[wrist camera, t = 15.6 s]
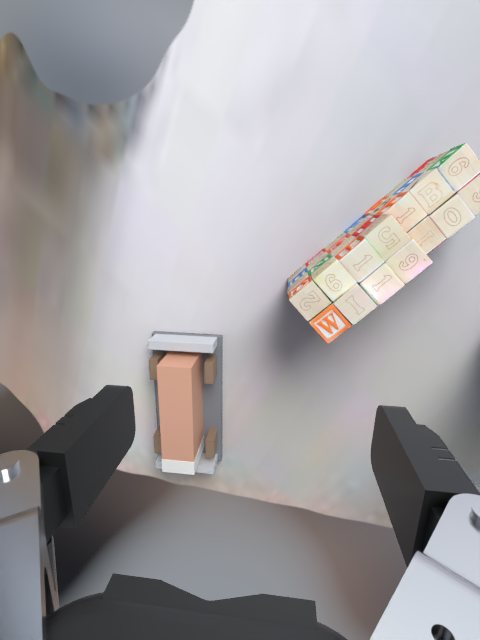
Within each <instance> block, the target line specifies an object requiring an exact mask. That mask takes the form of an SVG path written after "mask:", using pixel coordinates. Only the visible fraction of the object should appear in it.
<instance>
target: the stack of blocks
mask: <svg viewBox="0 0 480 640" xmlns="http://www.w3.org/2000/svg"><path fill="white" fill-rule="evenodd" d="M479 213H480V160H479V159H478V158H477V156H476V155H475V154H474V152H473V151H472V150H471V148H470V147H469V146H468V144H467V143H464V144H462V145H459V146H457V147H454V148H452V149H450V150H449V151H447V152H445V153H442V154H440V155H438V156H436V157H433V158H431V159H429V160H427V161H426V162H425V163H424V164H423V165H422V166H420V167H419V168H418V169H417V170H416V171H415V172H414V173H412V174H411V175H410V176H409V177H408V178H407V179H404V180H403V181H402V182H401V183H400V184H398V185H397V186H396V187H395V188H394V189H393V190H391V191H390V192H389V193H388V194H387V195H386V196H385V197H383V198H382V199H381V200H380V201H378V202H377V203H376V204H375V205H374V206H373V207H371V208H370V209H369V210H368V211H367V212H366V213H364V215H363V216H362V217H361V218H359V219H358V220H357V221H356V222H355V223H354V224H352V225H351V226H350V227H349V228H348V229H346V230H345V231H344V232H343V233H342V234H341V235H340V236H338V237H337V238H336V239H335V240H334V241H333V242H331V243H330V244H329V245H328V246H327V247H326V248H324V249H322V250H321V251H320V252H319V253H318V254H316V255H315V256H314V257H313V258H312V259H311V260H309V261H308V262H307V263H306V264H305V265H303V266H302V267H301V268H300V269H298V270H297V271H296V272H295V273H294V274H292V275H291V276H290V277H289V278H288V290H287V293H288V295H289V301H290V302H291V303H292V304H293V306H294V307H295V308H296V309H297V310H298V311H299V312H300V314H301V315H302V316H303V317H304V318H305V319H306V320H307V321H309V323H310V325H311V326H312V327H313V328H314V329H315V330H316V331H317V333H318V334H319V335H320V336H321V337H322V338H323V339H324V340H325V341H326V342H327V343H328V344H329V343H330V342H332V341H333V340H334V339H335V338H337V337H338V336H339V335H341V334H342V333H343V332H344V331H346V330H347V329H348V328H350V327H351V326H352V325H355V324H356V323H357V322H359V321H360V320H361V319H363V318H364V317H365V316H366V315H368V314H369V313H370V312H371V311H373V310H374V309H375V308H376V307H377V305H381V304H382V303H384V302H385V301H386V300H387V299H389V298H390V297H391V296H392V295H394V294H395V293H396V292H397V291H399V290H400V289H401V288H402V287H403V286H404V285H405V284H406V283H408V282H409V281H411V280H412V279H413V278H414V277H416V276H417V275H418V274H419V273H421V272H422V271H423V270H424V269H426V268H427V267H428V266H429V265H431V264H432V263H433V262H432V261H431V259H430V258H429V257H428V256H427V254H428V253H429V252H431V251H432V250H433V249H434V248H436V247H437V246H438V245H440V244H441V243H442V242H444V241H445V240H446V239H449V238H450V237H451V236H453V235H454V234H455V233H457V232H458V231H459V230H461V229H462V228H463V227H464V226H466V225H467V224H468V223H469V222H471V221H472V220H473V219H475V217H476V215H478V214H479Z"/></svg>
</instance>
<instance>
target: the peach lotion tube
mask: <svg viewBox="0 0 480 640" xmlns="http://www.w3.org/2000/svg"><path fill="white" fill-rule="evenodd" d="M157 382H158V399H159V416H160V433H161V450H162V472H170V473H180V474H190V475H195V472H196V469H197V466H198V463H199V460H200V457H201V454H202V452H203V449H204V435H203V380H202V353H201V352H185V351H169V352H168V353H167V354H166V355H165V357H164V358H163V359H162V360H161V361H160V363H159V364H158V365H157Z"/></svg>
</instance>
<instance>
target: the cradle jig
mask: <svg viewBox="0 0 480 640" xmlns="http://www.w3.org/2000/svg"><path fill="white" fill-rule="evenodd" d="M148 349H152V350H153V356H152V357H151V358H150V359H149V370H150V380H155V395H156V412H157V428H158V429H157V431H156V433H155V434H154V448H155V453H159V456H158V458H157V460H156V461H155V463H156V468H158V469H162V450H161V433H160V416H159V399H158V382H157V365H158V364H159V363H160V361H161V360H162V359H163V358H164V357H165V355H166V354H167V353H168V352H169V351H185V352H201V353H202V380H203V435H204V449H203V452H202V454H201V457H200V460H199V463H198V466H197V469H196V472H198V473H208V474H214V472H215V469H216V465H217V461H221V459H222V335H212V334H194V333H176V332H157V331H154V332H153V333H152V337H151V338H150V339H149V340H148Z"/></svg>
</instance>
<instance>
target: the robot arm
mask: <svg viewBox="0 0 480 640" xmlns="http://www.w3.org/2000/svg"><path fill="white" fill-rule="evenodd" d="M134 437H135V415H134V403H133V392H132V389H131V387H129V386H117V385H106V386H105V387H104V388H103V389H102V390H101V391H100V392H99V393H98V394H96V395H95V396H94V397H93V398H89V399H87V400H85V401H83V402H81V403H79V404H77V405H75V406H74V407H73V408H72V409H71V410H70V411H69V412H67V413H66V414H65V416H64V417H62V418H61V419H60V420H59V421H58V422H56V425H53V426H52V427H51V428H50V429H49V430H48V431H46V432H45V433H44V434H43V435H42V436H41V437H40V438H39V439H38V440H37V441H35V442H34V443H33V444H32V445H31V446H30V447H29V448H28V449H27V450H17V451H11V452H7V453H4V454H1V455H0V640H347V639H346V638H345V637H343V636H342V635H340V634H339V633H338V632H336V631H334V630H332V629H331V628H329V627H327V626H325V625H323V624H321V623H319V622H317V619H316V606H315V601H311V600H304V599H297V598H289V597H282V596H275V595H266V594H259V595H252V596H245V597H237V598H230V599H223V600H215V601H207V600H204V599H201V598H199V597H197V596H195V595H192V594H190V593H188V592H186V591H183V590H181V589H179V588H177V587H175V586H172V585H170V584H168V583H166V582H163V581H162V580H157V579H149V578H142V577H135V576H127V575H120V574H113V575H112V577H111V579H110V581H109V583H108V585H107V588H106V589H105V591H104V592H103V593H97V594H94V595H90V596H86V597H84V598H81V599H78V600H76V601H73V602H71V603H69V604H67V605H65V606H63V607H61V608H59V602H58V590H57V577H56V565H55V552H54V542H53V537H52V535H53V534H54V533H55V531H56V530H57V529H58V527H64V528H72V529H76V528H77V527H78V525H79V524H80V522H81V521H82V519H83V518H84V516H85V515H86V513H87V512H88V510H89V509H90V507H91V506H92V504H93V503H94V501H95V500H96V498H97V497H98V495H99V494H100V492H101V491H102V489H103V488H104V486H105V485H106V483H107V482H108V480H109V479H110V477H111V476H112V474H113V473H114V471H115V470H116V468H117V467H118V465H119V464H120V462H121V461H122V459H123V458H124V456H125V455H126V453H127V452H128V450H129V449H130V447H131V445H132V443H133V440H134ZM371 464H372V469H373V472H374V475H375V477H376V480H377V483H378V486H379V489H380V492H381V494H382V497H383V500H384V503H385V506H386V509H387V511H388V514H389V517H390V520H391V523H392V526H393V528H394V531H395V534H396V537H397V540H398V543H399V545H400V548H401V551H402V554H403V557H404V559H405V562H406V565H407V570H406V572H405V574H404V576H403V578H402V579H401V581H400V583H399V585H398V587H397V589H396V591H395V593H394V595H393V596H392V598H391V600H390V602H389V604H388V606H387V608H386V610H385V612H384V614H383V615H382V617H381V619H380V621H379V623H378V625H377V627H376V629H375V631H374V632H373V634H372V637H371V638H370V640H480V493H479V492H478V490H477V489H476V487H475V486H474V485H473V483H472V482H471V480H470V479H469V478H468V476H467V475H466V473H465V472H464V471H463V469H462V468H461V466H460V465H459V463H458V462H457V461H455V458H454V456H453V455H452V454H451V452H450V451H448V448H447V447H446V445H445V444H444V442H443V441H442V440H441V438H440V437H439V436H438V435H437V434H436V433H434V432H433V431H432V430H430V429H429V428H428V427H426V426H425V425H418V424H416V423H415V421H414V420H413V418H412V416H411V415H410V413H409V412H408V410H407V409H406V408H405V407H396V406H382V405H380V406H378V408H377V411H376V418H375V425H374V432H373V438H372V445H371Z"/></svg>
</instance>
